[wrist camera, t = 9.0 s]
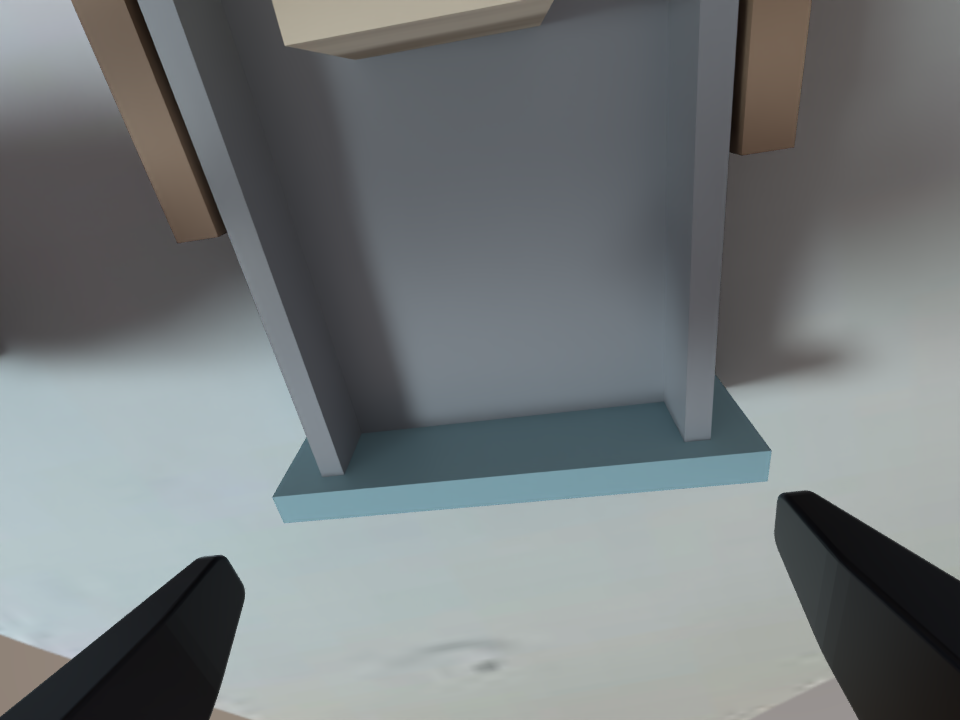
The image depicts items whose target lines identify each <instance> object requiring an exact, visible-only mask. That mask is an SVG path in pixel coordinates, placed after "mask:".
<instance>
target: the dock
mask: <svg viewBox="0 0 960 720" xmlns="http://www.w3.org/2000/svg"><path fill="white" fill-rule="evenodd" d="M71 1H72V4H73V6H74V8H75V10H76V13H77V15H78V17H79V20H80V22H81V24H82V26H83V29H84V31H85V33H86V36H87V38H88V40H89V42H90V45H91V47H92V49H93V52H94V54H95V56H96V58H97V61H98V63H99V65H100V68H101V70H102V72H103V74H104V77H105V79H106V81H107V84H108V86H109V88H110V90H111V93H112V95H113V97H114V100H115V102H116V104H117V106H118V109H119V111H120V113H121V116H122V118H123V120H124V122H125V125H126V127H127V129H128V132H129V134H130V136H131V138H132V141H133V143H134V145H135V148H136V150H137V152H138V154H139V157H140V159H141V161H142V164H143V166H144V168H145V170H146V173H147V175H148V177H149V180H150V182H151V184H152V186H153V189H154V191H155V193H156V196H157V198H158V200H159V202H160V205H161V207H162V209H163V212H164V214H165V216H166V218H167V221H168V223H169V225H170V228H171V230H172V232H173V234H174V237H175V239H176V241H177V243H183V242H189V241H196V240H202V239H209V238H215V237H219V236H221V235H223V234H225V233H227V230H226V228H225V225H224V223H223V220H222V217H221V215H220V212H219V210H218V207H217V205H216V202H215V199H214V197H213V194H212V192H211V189H210V187H209V184H208V181H207V179H206V176H205V174H204V171H203V168H202V166H201V163H200V161H199V158H198V156H197V153H196V150H195V148H194V145H193V143H192V140H191V138H190V135H189V132H188V130H187V127H186V125H185V122H184V120H183V117H182V114H181V112H180V109H179V107H178V104H177V101H176V99H175V96H174V94H173V91H172V89H171V86H170V83H169V81H168V78H167V76H166V73H165V71H164V68H163V65H162V63H161V60H160V58H159V55H158V52H157V50H156V47H155V45H154V42H153V40H152V37H151V34H150V32H149V29H148V27H147V24H146V22H145V19H144V16H143V14H142V11H141V9H140V6H139V3H138V1H137V0H71ZM811 2H812V0H739V7H738V22H737V38H736V53H735V69H734V84H733V100H732V115H731V131H730V146H729V152H731V153H734V154H738V155H748V154H755V153H761V152H768V151H774V150H780V149H787V148H793V147H794V145H795V136H796V128H797V120H798V111H799V103H800V95H801V86H802V78H803V69H804V61H805V53H806V44H807V36H808V28H809V19H810V11H811Z"/></svg>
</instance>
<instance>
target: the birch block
mask: <svg viewBox="0 0 960 720" xmlns="http://www.w3.org/2000/svg"><path fill="white" fill-rule="evenodd" d="M553 1H554V0H272V3H273V6H274V10H275V13H276V17H277V20H278V24H279V28H280V31H281V35H282V38H283V42H284V45H285V46H288V47H293V48H298V49H303V50H308V51H313V52H318V53H323V54H328V55H333V56H338V57H343V58H348V59H353V60H358V59H363V58H369V57H374V56H379V55H385V54H390V53H396V52H401V51H407V50H412V49H417V48H423V47H428V46H434V45H439V44H444V43H450V42H455V41H461V40H466V39H471V38H477V37H482V36H488V35H493V34H498V33H504V32H509V31H515V30H520V29H525V28H531V27H536V26H540V25H541V23H542V21H543V19H544V17H545V16H546V14H547V12H548V10H549V8H550V6H551V5H552V3H553Z"/></svg>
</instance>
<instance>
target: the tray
mask: <svg viewBox="0 0 960 720" xmlns="http://www.w3.org/2000/svg"><path fill="white" fill-rule="evenodd" d="M137 1H138V3H139V6H140V9H141V11H142V14H143V16H144V19H145V22H146V24H147V27H148V29H149V32H150V34H151V37H152V40H153V42H154V45H155V47H156V50H157V52H158V55H159V58H160V60H161V63H162V65H163V68H164V71H165V73H166V76H167V78H168V81H169V83H170V86H171V89H172V91H173V94H174V96H175V99H176V101H177V104H178V107H179V109H180V112H181V114H182V117H183V120H184V122H185V125H186V127H187V130H188V132H189V135H190V138H191V140H192V143H193V145H194V148H195V150H196V153H197V156H198V158H199V161H200V163H201V166H202V168H203V171H204V174H205V176H206V179H207V181H208V184H209V187H210V189H211V192H212V194H213V197H214V199H215V202H216V205H217V207H218V210H219V212H220V215H221V217H222V220H223V223H224V225H225V228H226V230H227V233H228V236H229V238H230V241H231V243H232V246H233V248H234V251H235V254H236V256H237V259H238V261H239V264H240V266H241V269H242V272H243V274H244V277H245V279H246V282H247V285H248V287H249V290H250V292H251V295H252V297H253V300H254V303H255V305H256V308H257V310H258V313H259V315H260V318H261V321H262V323H263V326H264V328H265V331H266V334H267V336H268V339H269V341H270V344H271V346H272V349H273V352H274V354H275V357H276V359H277V362H278V364H279V367H280V370H281V372H282V375H283V377H284V380H285V383H286V385H287V388H288V390H289V393H290V395H291V398H292V401H293V403H294V406H295V408H296V411H297V413H298V416H299V419H300V421H301V424H302V426H303V429H304V431H305V434H306V439H305V441H304V443H303V444H302V446H301V448H300V450H299V451H298V453H297V455H296V457H295V458H294V460H293V462H292V464H291V465H290V467H289V469H288V471H287V472H286V474H285V476H284V478H283V479H282V481H281V483H280V485H279V486H278V488H277V490H276V492H275V493H274V495H273V497H272V498H273V500H274V502H275V504H276V507H277V509H278V511H279V513H280V515H281V518H282V520H283V522H284V523H292V522H303V521H315V520H327V519H338V518H350V517H361V516H373V515H384V514H396V513H407V512H419V511H430V510H442V509H453V508H465V507H476V506H488V505H499V504H511V503H522V502H534V501H546V500H557V499H569V498H580V497H592V496H603V495H615V494H626V493H638V492H649V491H661V490H672V489H684V488H695V487H707V486H718V485H730V484H742V483H753V482H765V481H768V474H769V466H770V459H771V452H772V451H771V449H770V448H769V447H768V445H767V444H766V442H765V441H764V440H763V438H762V437H761V436H760V434H759V433H758V432H757V430H756V429H755V428H754V426H753V425H752V424H751V422H750V421H749V419H748V418H747V417H746V415H745V414H744V413H743V411H742V410H741V409H740V407H739V406H738V405H737V403H736V402H735V401H734V399H733V398H732V396H731V395H730V394H729V392H728V391H727V390H726V388H725V387H724V386H723V384H722V383H721V382H720V380H719V379H718V378H717V376H716V375H715V363H716V347H717V332H718V316H719V301H720V286H721V270H722V255H723V239H724V224H725V208H726V193H727V177H728V162H729V146H730V131H731V115H732V100H733V84H734V69H735V53H736V38H737V22H738V7H739V0H554V1H553V3H552V5H551V6H550V8H549V10H548V12H547V14H546V16H545V17H544V19H543V21H542V23H541V25H540V26H536V27H531V28H525V29H520V30H515V31H509V32H504V33H498V34H493V35H488V36H482V37H477V38H471V39H466V40H461V41H455V42H450V43H444V44H439V45H434V46H428V47H423V48H417V49H412V50H407V51H401V52H396V53H390V54H385V55H379V56H374V57H369V58H363V59H358V60H353V59H348V58H343V57H338V56H333V55H328V54H323V53H318V52H313V51H308V50H303V49H298V48H293V47H288V46H285V45H284V42H283V38H282V35H281V31H280V28H279V24H278V20H277V17H276V13H275V10H274V6H273V3H272V0H137Z"/></svg>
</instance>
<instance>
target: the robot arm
mask: <svg viewBox="0 0 960 720" xmlns="http://www.w3.org/2000/svg"><path fill="white" fill-rule="evenodd" d="M774 536H775V542H776V545H777V548H778V551H779V553H780V555H781V558H782V560H783V563H784V565H785V567H786V570H787V572H788V574H789V577H790V579H791V581H792V584H793V586H794V588H795V591H796V593H797V596H798V598H799V600H800V603H801V605H802V607H803V610H804V612H805V614H806V617H807V619H808V621H809V624H810V626H811V628H812V631H813V633H814V635H815V638H816V640H817V642H818V644H819V647H820V649H821V651H822V653H823V655H824V657H825V659H826V661H827V663H828V664H829V666H830V668H831V670H832V672H833V674H834V676H835V677H836V679H837V681H838V683H839V685H840V686H841V688H842V690H843V692H844V694H845V696H846V697H847V699H848V701H849V703H850V705H851V707H852V708H853V710H854V712H855V714H856V716H857V717H858V719H859V720H960V581H959V580H958V579H956V578H954V577H953V576H951V575H950V574H948V573H946V572H945V571H943V570H941V569H940V568H938V567H936V566H935V565H933V564H931V563H930V562H928V561H926V560H925V559H923V558H921V557H920V556H918V555H916V554H915V553H913V552H912V551H910V550H908V549H907V548H905V547H903V546H902V545H900V544H898V543H897V542H895V541H893V540H892V539H890V538H888V537H887V536H885V535H883V534H882V533H880V532H878V531H877V530H875V529H873V528H872V527H870V526H869V525H867V524H865V523H864V522H862V521H860V520H859V519H857V518H855V517H854V516H852V515H850V514H849V513H847V512H845V511H844V510H842V509H840V508H839V507H837V506H835V505H834V504H832V503H831V502H829V501H827V500H826V499H824V498H822V497H821V496H819V495H817V494H816V493H814V492H811V491H806V490H805V491H795V492H786V493H782V494H780V495H779V497H778V500H777V508H776V519H775V529H774ZM244 599H245V589H244V585H243V583H242V582H241V580H240V578H239V577H238V575H237V573H236V572H235V570H234V569H233V567H232V565H231V564H230V562H229V560H228V559H227V558H226V557H225V556H223V555H214V556H205V557H200V558H198V559H196V560H195V561H193V562H192V563H191V564H190V565H188V566H187V567H186V568H185V569H183V570H182V571H181V572H180V573H178V574H177V575H176V576H175V577H173V578H172V579H171V580H170V581H168V582H167V583H166V584H165V585H164V586H162V587H161V588H160V589H159V590H157V591H156V592H155V593H154V594H152V595H151V596H150V597H149V598H147V599H146V600H145V601H144V602H142V603H141V604H140V605H139V606H137V607H136V608H135V609H134V610H132V611H131V612H130V613H129V614H127V615H126V616H125V617H124V618H122V619H121V620H120V621H119V622H118V623H116V624H115V625H114V626H113V627H111V628H110V629H109V630H108V631H106V632H105V633H104V634H103V635H101V636H100V637H99V638H98V639H96V640H95V641H94V642H93V643H91V644H90V645H89V646H88V647H86V648H85V649H84V650H83V651H81V652H80V653H79V654H78V655H77V656H75V657H74V658H73V659H72V660H70V661H69V662H68V663H67V664H65V665H64V666H63V667H62V668H60V669H59V670H58V671H57V672H56V673H54V674H53V675H52V676H50V677H49V678H48V679H47V680H45V681H44V682H43V683H42V684H40V685H39V686H38V687H37V688H36V689H34V690H33V691H32V692H31V693H29V694H28V695H27V696H26V697H24V698H23V699H22V700H21V701H19V702H18V703H17V704H16V705H15V706H13V707H12V708H11V709H9V710H8V711H7V712H6V713H5V714H3V715H2V716H1V717H0V720H209V719H210V716H211V714H212V711H213V708H214V705H215V702H216V699H217V696H218V693H219V690H220V687H221V683H222V680H223V677H224V673H225V669H226V666H227V662H228V658H229V655H230V651H231V648H232V644H233V640H234V637H235V633H236V629H237V626H238V622H239V618H240V615H241V611H242V607H243V604H244Z"/></svg>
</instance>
